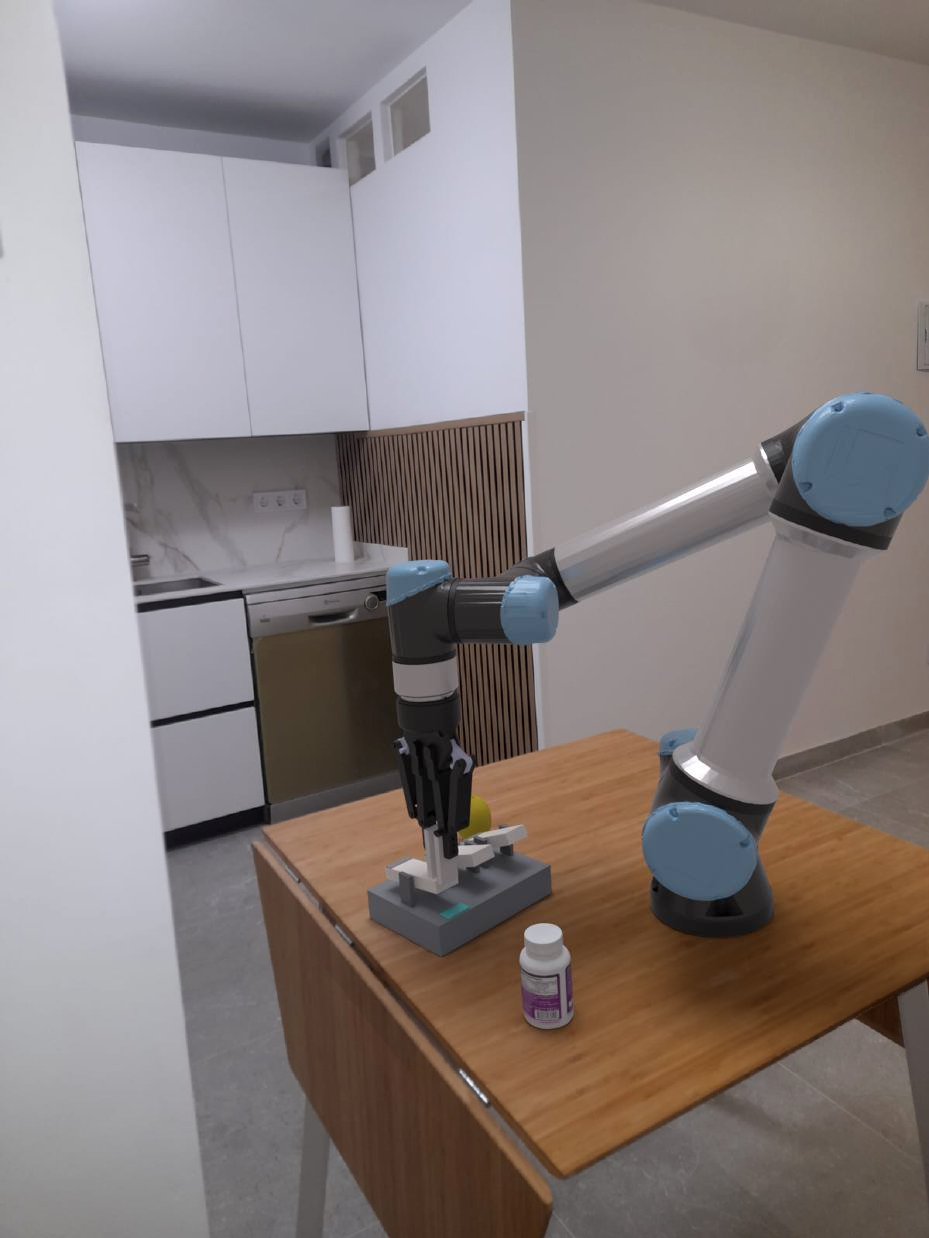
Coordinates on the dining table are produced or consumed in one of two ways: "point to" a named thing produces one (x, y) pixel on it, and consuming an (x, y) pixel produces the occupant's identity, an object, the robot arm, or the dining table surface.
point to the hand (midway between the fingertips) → (443, 877)
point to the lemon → (477, 818)
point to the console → (461, 900)
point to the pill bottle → (546, 977)
